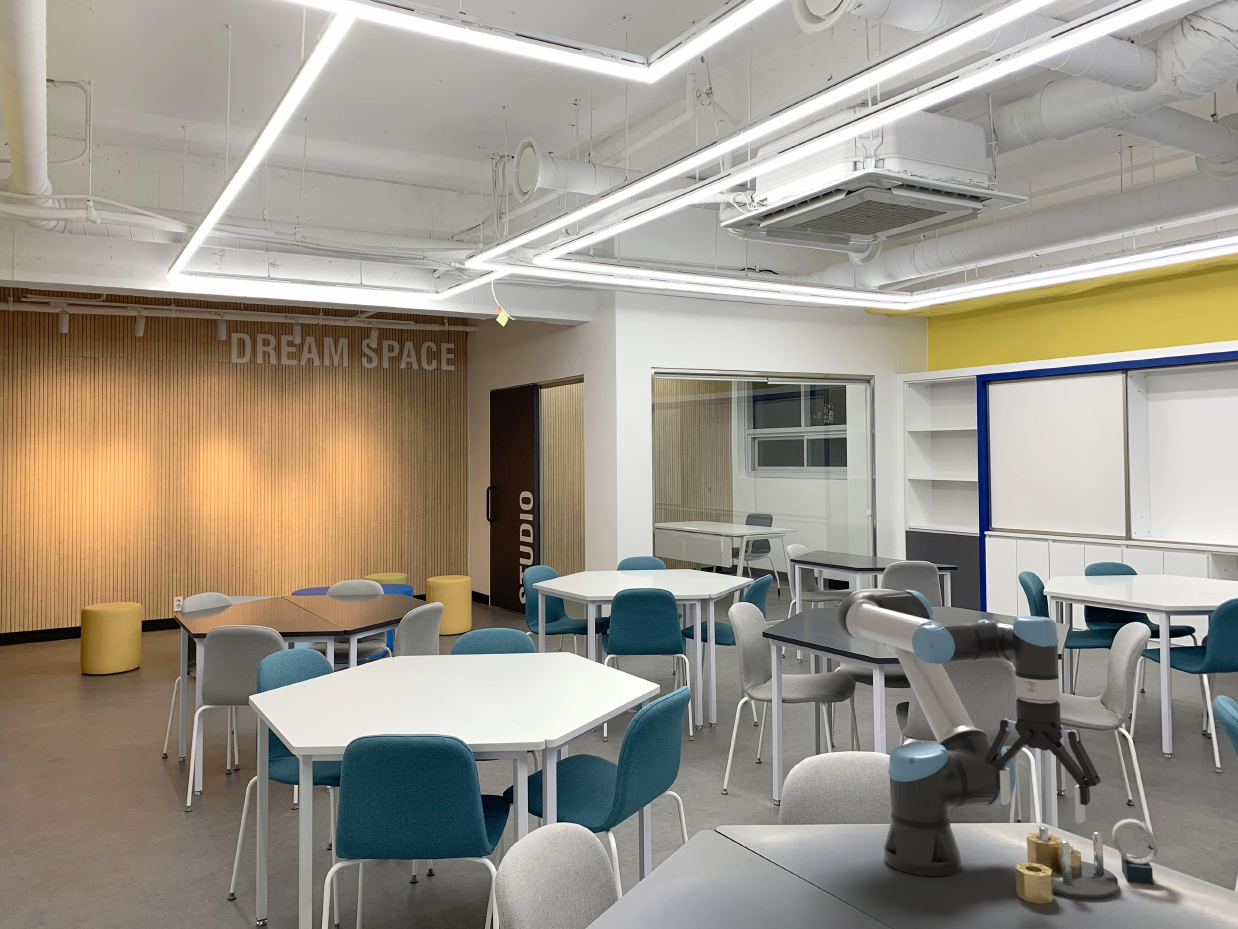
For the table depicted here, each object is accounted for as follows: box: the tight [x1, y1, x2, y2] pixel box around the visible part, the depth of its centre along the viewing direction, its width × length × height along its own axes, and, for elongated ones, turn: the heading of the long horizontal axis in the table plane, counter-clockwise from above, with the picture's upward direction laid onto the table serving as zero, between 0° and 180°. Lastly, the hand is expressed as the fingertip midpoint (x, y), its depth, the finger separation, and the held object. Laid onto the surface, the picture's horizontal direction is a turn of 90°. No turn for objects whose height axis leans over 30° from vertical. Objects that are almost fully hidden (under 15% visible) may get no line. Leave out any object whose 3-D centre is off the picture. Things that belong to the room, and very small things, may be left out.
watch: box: [1111, 818, 1161, 886], centre depth 167 cm, size 6×8×11 cm
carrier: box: [1038, 826, 1119, 900], centre depth 166 cm, size 16×16×9 cm
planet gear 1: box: [1026, 831, 1062, 870], centre depth 171 cm, size 6×6×5 cm
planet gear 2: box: [1014, 861, 1055, 905], centre depth 160 cm, size 6×6×5 cm
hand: (1042, 812), depth 161 cm, fingers open, 13 cm apart
